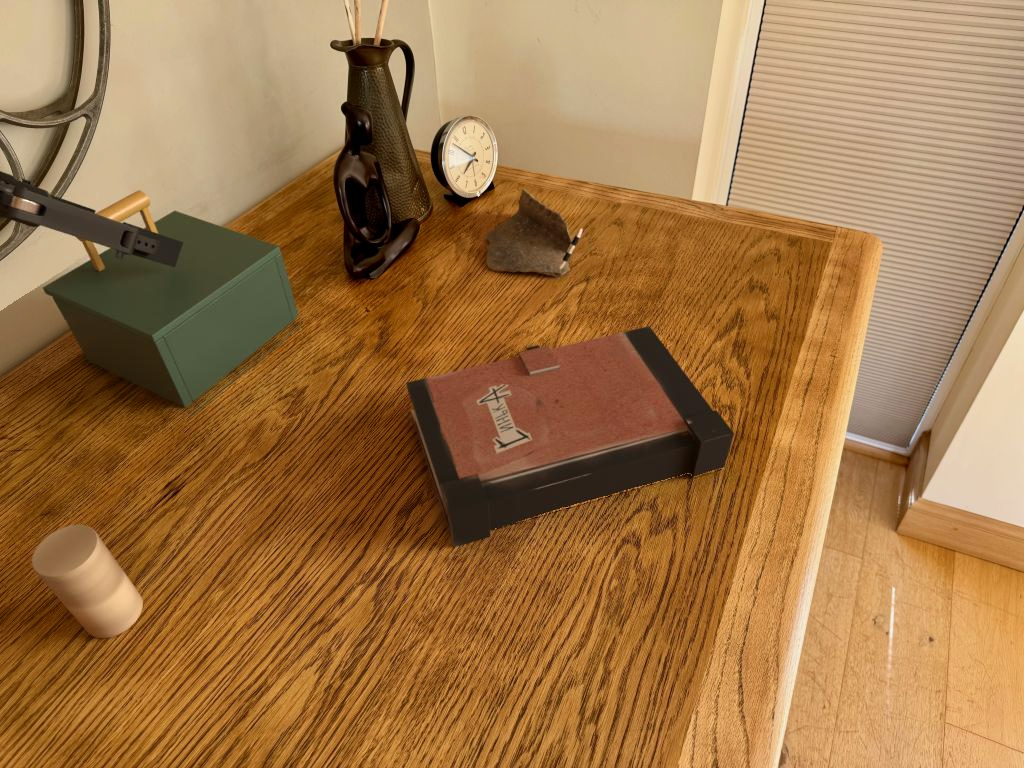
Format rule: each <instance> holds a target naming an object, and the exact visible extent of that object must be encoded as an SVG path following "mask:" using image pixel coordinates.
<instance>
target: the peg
mask: <svg viewBox="0 0 1024 768" xmlns="http://www.w3.org/2000/svg"><path fill="white" fill-rule="evenodd" d="M31 567H32V570H33V571H34V572H35V573H36V574H37V576H38V577H39V578H40V579H41V580H42V582H44V584H45V585H46V586H47V587H48V588H49V590H50V591H51V592H52V593H53V594H54V595H55V597H56V598H58V600H59V601H60V602H61V604H62V605H64V607H65V608H66V609H67V610H68V611H69V612H70V614H71V615H72V616H73V617H74V619H76V621H77V622H78V623H79V624H80V625H81V627H82V628H83V629H84V630H85V631H86V632H87V633H88V635H90V636H91V637H93V638H97V639H109V638H115V637H117V636H119V635H121V634H123V633H124V632H126V631H128V630H129V629H130V628H131V627H132V626H133V625H134V624H135V623H136V622H137V621H138V619H139V618H140V616H141V613H142V612H143V606H144V601H143V596H142V595H141V594H140V592H139V591H138V590H137V588H136V586H135V585H134V583H133V582H132V581H131V580H130V578H129V577H128V575H127V574H126V572H125V571H124V570H123V569H122V567H121V565H120V564H119V562H118V561H117V560H116V558H115V557H114V555H113V554H112V553H111V551H110V550H109V548H108V547H107V545H106V544H105V542H103V540H102V538H101V537H100V535H99V534H98V533H97V531H96V530H95V529H94V528H93V527H91V526H88V525H85V524H72V525H68V526H63V527H61V528H59V529H57V530H55V531H53V532H52V533H50V534H48V535H47V536H45V538H44V539H42V540H41V541H40V542H39V544H38V545H37V546H36V548H35V550H34V551H33V553H32V556H31Z"/></svg>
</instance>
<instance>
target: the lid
mask: <svg viewBox="0 0 1024 768" xmlns="http://www.w3.org/2000/svg"><path fill="white" fill-rule="evenodd" d="M150 206H151V200H150V198H149V197H148V195H147V194H146V193H145V192H144V191H142V190H136V191H134V192H133V193H131V194H129V195H127V196H125V197H123V198H121V199H119V200H118V201H115V202H114V203H112V204H111V205H108V206H106V207H105V208H103V209H100V210H99V211H96V212H95V214H98V215H101V216H103V217H106V218H109V219H112V220H115V221H118V222H120V223H122V222H124V221H125V220H126V219H127V220H128V219H129V218H130V217H133V216H134V215H135V214H138V213H139V214H140V215H141V218H142V221H143V223H144V225H145V227H144V228H143V229H146V230H149V231H152V232H155V233H158V234H161V235H164V236H166V237H169V238H172V239H175V240H178V241H181V242H183V245H182V248H181V251H180V254H179V257H178V260H177V263H176V266H175V267H172V266H168V265H165V264H161V263H158V262H155V261H151V260H148V259H145V258H141V257H138V256H134V255H129V254H128V255H126V254H124V256H123V259H119V258H116V257H115V256H116V253H117V251H116V250H115V249H112V248H108V249H106V250H105V251H103V252H101V253H99V252H98V250H97V248H96V246H95V243H93V242H90V241H87V240H84V239H81V238H78V237H75V238H76V239H77V240H78V241H80V242H81V243H82V245H83V247H84V249H85V251H86V253H87V255H88V257H89V259H88V260H87V261H86V262H84V263H82V264H80V265H79V266H76V267H75V268H74V269H72V270H70V271H69V272H67V273H65V274H63V275H61V276H60V277H58V278H56V279H54V280H52V281H51V282H49V283H48V284H46V285H44V286H43V287H42V290H43V292H44V293H45V295H47V296H49V297H52V298H53V297H54V298H56V299H59V300H61V301H63V302H65V303H68V304H70V305H72V306H74V307H77V308H79V309H81V310H83V311H86V312H88V313H90V314H92V315H95V316H97V317H99V318H101V319H104V320H106V321H108V322H110V323H113V324H115V325H117V326H119V327H122V328H124V329H126V330H128V331H131V332H133V333H135V334H137V335H140V336H142V337H144V338H146V339H149V340H151V341H153V342H156V341H157V340H159V339H160V338H162V337H163V336H164V335H166V334H167V333H169V332H170V331H171V330H173V329H174V328H176V327H177V326H178V325H180V324H181V323H183V322H184V321H185V320H187V319H188V318H190V317H191V316H192V315H194V314H195V313H197V312H198V311H199V310H201V309H202V308H204V307H205V306H206V305H208V304H209V303H211V302H212V301H213V300H215V299H216V298H218V297H219V296H221V295H222V294H223V293H225V292H226V291H228V290H229V289H230V288H232V287H233V286H235V285H236V284H237V283H239V282H240V281H242V280H243V279H244V278H246V277H247V276H249V275H250V274H251V273H253V272H254V271H256V270H257V269H258V268H260V267H261V266H263V265H264V264H265V263H267V262H268V261H270V260H271V259H272V258H274V257H275V256H277V255H278V254H279V253H281V252H282V251H281V247H280V246H279V245H277V244H274V243H271V242H268V241H264V240H262V239H259V238H256V237H253V236H250V235H247V234H244V233H242V232H239V231H236V230H233V229H230V228H227V227H225V226H221V225H218V224H215V223H212V222H209V221H206V220H204V219H201V218H197V217H195V216H193V215H189V214H186V213H183V212H180V211H178V210H173V211H172V212H169V213H168V214H166V215H164V216H162V217H161V218H160V219H158V220H156V221H154V219H153V217H152V215H151V212H150V210H149V207H150ZM281 254H282V253H281Z"/></svg>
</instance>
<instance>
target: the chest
mask: <svg viewBox="0 0 1024 768" xmlns="http://www.w3.org/2000/svg"><path fill="white" fill-rule="evenodd" d="M52 299H53V301H54V303H55V304H56V307H57V308H58V310H59V312H60V314H61V315H62V318H63V319H64V320H65V323H66V324H67V326H68V328H69V329H70V331H71V333H72V335H73V337H74V338H75V340H76V343H77V344H78V346H79V347H80V349H81V351H82V353H83V355H84V356H85V358H86V360H87V362H89V363H91V364H93V365H96V366H97V367H99V368H101V369H103V370H106V371H108V372H109V373H111V374H114V375H116V376H118V377H120V378H122V379H124V380H127V381H129V382H130V383H132V384H135V385H137V386H138V387H141V388H143V389H145V390H147V391H149V392H150V393H154V394H155V395H157V396H160V397H162V398H164V399H165V400H168V401H170V402H172V403H174V404H176V405H178V406H180V407H183V408H184V409H185V408H187V407H189V406H190V405H191V404H192V403H193V402H195V401H196V400H197V399H199V398H200V397H201V396H202V395H204V394H205V393H206V392H207V391H208V390H210V389H211V388H212V387H213V386H214V385H216V384H218V382H220V381H221V380H222V379H223V378H224V377H226V376H227V375H228V374H229V373H231V372H232V371H233V370H234V369H235V368H236V367H238V366H240V365H241V364H242V363H243V362H244V361H245V360H246V359H248V358H249V357H250V356H251V355H253V354H254V353H255V352H257V351H258V350H259V349H260V348H262V347H263V346H264V345H265V344H266V343H268V342H269V341H270V340H271V339H272V338H274V337H275V336H276V335H278V334H279V333H280V332H281V331H283V330H284V329H285V328H287V326H289V325H290V324H291V323H292V322H294V321H295V320H296V319H297V318H298V317H299V311H298V309H297V304H296V301H295V297H294V294H293V291H292V285H291V283H290V279H289V276H288V272H287V268H286V265H285V262H284V257H283V254H282V253H279V254H278V255H277V256H275V257H274V258H272V259H271V260H270V261H268V262H267V263H265V264H264V265H263V266H261V267H260V268H258V269H257V270H256V271H254V272H253V273H251V274H250V275H249V276H247V277H246V278H244V279H243V280H242V281H240V282H239V283H237V284H236V285H235V286H233V287H232V288H230V289H229V290H228V291H226V292H225V293H223V294H222V295H221V296H219V297H218V298H216V299H215V300H213V301H212V302H211V303H209V304H208V305H206V306H205V307H204V308H202V309H201V310H199V311H198V312H197V313H195V314H194V315H192V316H191V317H190V318H188V319H187V320H185V321H184V322H183V323H181V324H180V325H178V326H177V327H176V328H174V329H173V330H171V331H170V332H169V333H167V334H166V335H164V336H163V337H162V338H160V339H159V340H157V341H156V342H153V341H151V340H149V339H146V338H144V337H142V336H140V335H137V334H135V333H133V332H131V331H128V330H126V329H124V328H122V327H119V326H117V325H115V324H113V323H110V322H108V321H106V320H104V319H101V318H99V317H97V316H95V315H92V314H90V313H88V312H86V311H83V310H81V309H79V308H77V307H74V306H72V305H70V304H68V303H65V302H63V301H61V300H59V299H56V298H54V297H52ZM300 327H302V324H300V325H298V326H297V327H296V328H295V329H293V330H292V331H291V332H290V333H288V334H287V335H286V336H285V337H283V339H281V340H280V341H279V342H277V344H275V345H274V346H273V347H272V348H271V349H269V350H268V351H267V352H266V353H264V354H263V355H262V356H260V358H258V359H257V360H255V361H254V362H253V363H252V364H251V365H250V366H249V367H247V368H246V369H245V370H244V371H243V372H241V373H240V374H238V376H236V377H235V378H234V379H233V380H231V381H230V382H229V383H228V384H227V385H225V386H224V387H223V388H222V389H221V390H220V391H218V392H217V393H216V394H214V395H213V396H212V397H211V398H209V399H208V400H207V401H206V402H205V403H204V404H203V405H201V406H200V407H199V408H197V409H196V410H195V411H194V412H193V413H191V414H190V415H189V416H188V418H191V417H193V416H194V415H195V414H196V413H197V412H198V411H200V410H201V409H202V408H203V407H205V406H206V405H208V403H210V402H211V401H212V400H213V399H215V397H217V396H218V395H219V394H221V393H222V392H223V391H224V390H225V389H226V388H228V387H229V386H230V385H231V384H232V383H234V382H235V381H236V380H237V379H238V378H240V377H241V376H242V375H243V374H245V373H246V372H247V371H248V370H249V369H251V368H253V366H254V365H255V364H257V363H258V362H259V361H260V360H262V359H263V358H264V357H265V356H266V355H268V354H269V353H270V352H271V351H273V350H274V349H275V348H276V347H277V346H279V345H280V344H281V343H282V342H284V340H286V339H287V338H288V337H289V336H291V335H292V334H293V333H294V332H295V331H297V330H298V329H299V328H300Z"/></svg>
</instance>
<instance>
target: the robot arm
mask: <svg viewBox="0 0 1024 768" xmlns="http://www.w3.org/2000/svg"><path fill="white" fill-rule="evenodd" d="M22 180H23V181H22V182H21V181H19V180H18V177H16V176H15V175H12V174H10V173H6V172H4V171H1V170H0V220H3V219H7V220H10V221H14V222H16V223H19V224H22V225H26V226H29V227H32V228H39V227H43V228H46V229H50V230H54V231H57V232H60V233H62V234H65V235H69V236H71V237H75V238H76V237H78V238H81V239H84V240H87V241H90V242H93V244H97V245H99V246H104V247H106V248H108V249H110V248H112V249H115V250H116V251H117V253H116V256H115V257H116V258H119V259H123V256H124V254H126V255H128V254H129V255H134V256H138V257H141V258H145V259H148V260H151V261H155V262H158V263H161V264H165V265H168V266H172V267H175V266H176V263H177V260H178V257H179V254H180V251H181V248H182V245H183V242H181V241H178V240H175V239H172V238H169V237H166V236H164V235H161V234H158V233H155V232H152V231H149V230H146V229H144V228H143V227H140V226H137V225H134V224H132V223H129V222H126V221H122V222H118V221H115V220H112V219H109V218H106V217H103V216H101V215H98V214H95V213H97V210H96V209H93V208H90V207H89V206H88V207H87V206H85V205H81V204H78V203H75V202H73V201H71V200H67V199H65V198H61V197H59V196H56V195H53V194H51V193H50V192H49V191H48V190H46V189H44V188H40V187H37V186H35V185H32V183H33V181H31V180H27V179H25V178H22Z"/></svg>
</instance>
